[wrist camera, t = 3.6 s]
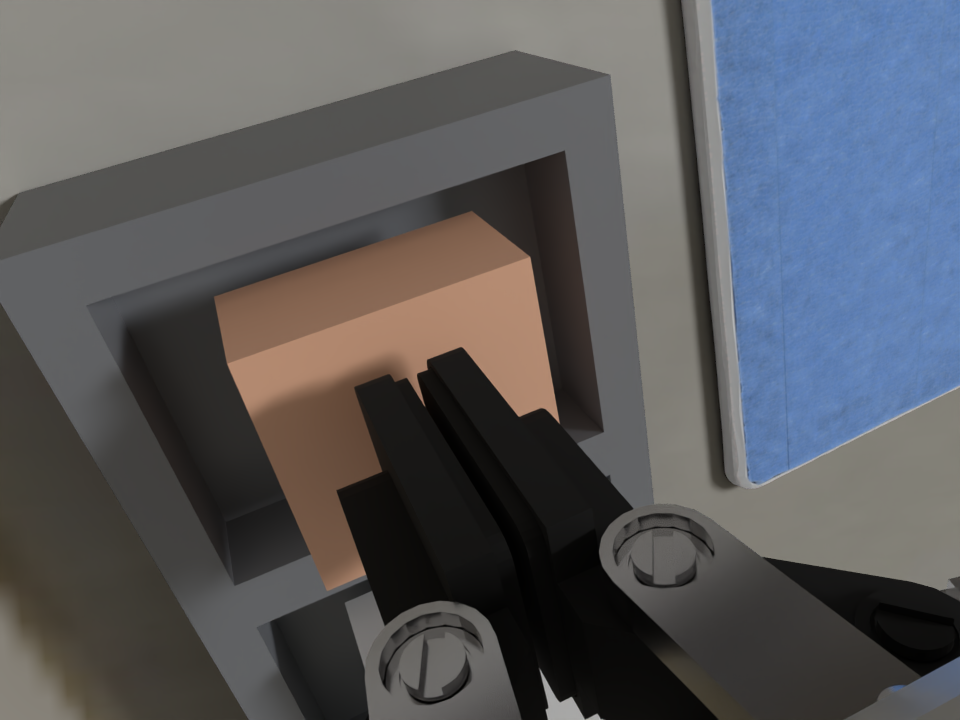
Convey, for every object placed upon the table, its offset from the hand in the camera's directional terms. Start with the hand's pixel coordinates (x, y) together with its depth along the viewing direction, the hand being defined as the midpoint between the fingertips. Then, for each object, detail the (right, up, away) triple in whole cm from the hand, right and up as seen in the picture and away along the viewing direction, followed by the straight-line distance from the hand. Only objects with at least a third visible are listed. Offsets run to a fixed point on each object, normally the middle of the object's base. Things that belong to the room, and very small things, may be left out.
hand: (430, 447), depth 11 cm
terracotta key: (-1, +1, +3) cm, 3 cm away
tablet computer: (+12, +8, +10) cm, 17 cm away
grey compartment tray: (-1, -3, +10) cm, 10 cm away
